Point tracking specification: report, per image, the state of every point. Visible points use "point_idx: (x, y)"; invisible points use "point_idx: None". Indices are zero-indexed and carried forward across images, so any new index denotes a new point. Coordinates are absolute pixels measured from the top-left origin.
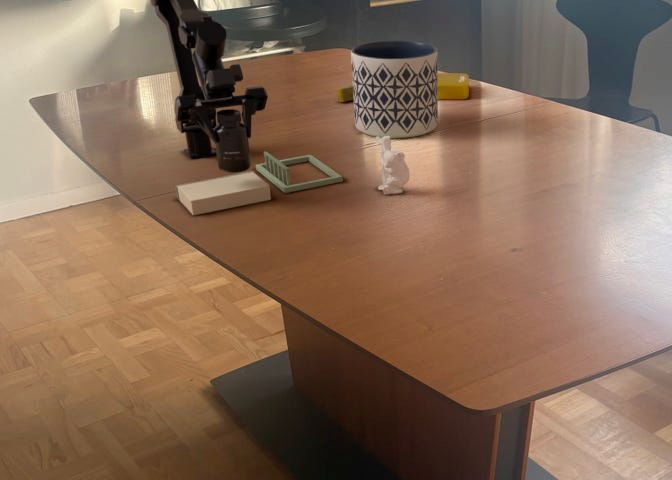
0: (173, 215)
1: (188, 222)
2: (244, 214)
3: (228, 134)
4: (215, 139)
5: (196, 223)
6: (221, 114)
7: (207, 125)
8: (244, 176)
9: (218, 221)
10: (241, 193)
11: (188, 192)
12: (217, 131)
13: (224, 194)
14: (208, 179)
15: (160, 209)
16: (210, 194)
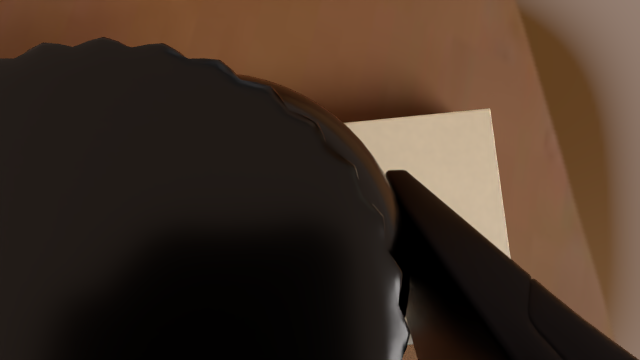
0: (525, 155)
1: (487, 68)
2: (293, 53)
3: (277, 85)
4: (403, 175)
5: (463, 47)
6: (318, 203)
7: (525, 282)
8: None
9: (391, 31)
10: None
11: (484, 212)
12: (388, 186)
13: (348, 123)
14: None
15: (559, 233)
16: (403, 147)
